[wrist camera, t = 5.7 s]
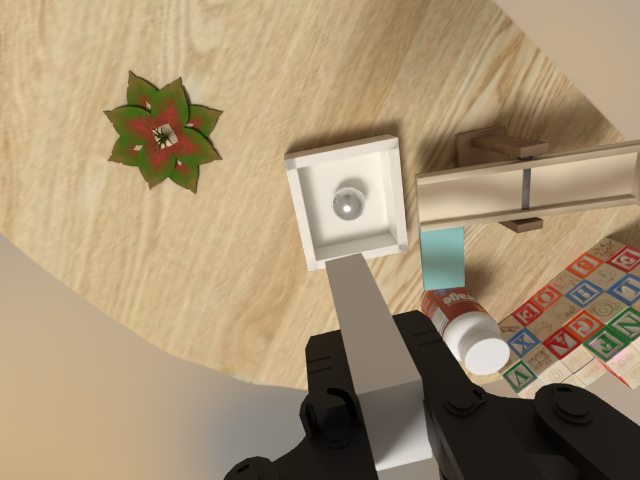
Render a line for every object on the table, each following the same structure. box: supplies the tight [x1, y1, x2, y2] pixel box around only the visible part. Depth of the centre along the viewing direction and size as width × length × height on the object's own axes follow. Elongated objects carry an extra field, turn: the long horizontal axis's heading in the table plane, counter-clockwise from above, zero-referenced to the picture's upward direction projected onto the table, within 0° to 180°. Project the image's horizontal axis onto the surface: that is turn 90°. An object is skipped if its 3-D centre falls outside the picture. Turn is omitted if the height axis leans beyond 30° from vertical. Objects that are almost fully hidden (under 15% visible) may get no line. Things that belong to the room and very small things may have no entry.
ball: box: [332, 187, 366, 221], centre depth 37 cm, size 4×4×4 cm
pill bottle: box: [421, 287, 510, 375], centre depth 40 cm, size 6×6×11 cm
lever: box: [415, 140, 640, 291], centre depth 32 cm, size 12×19×3 cm, turn 100°
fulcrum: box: [456, 126, 549, 233], centre depth 35 cm, size 9×5×9 cm, turn 10°
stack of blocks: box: [498, 237, 640, 399], centre depth 41 cm, size 21×6×12 cm, turn 136°
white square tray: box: [284, 134, 408, 271], centre depth 37 cm, size 12×11×4 cm
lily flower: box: [104, 71, 222, 194], centre depth 33 cm, size 12×12×5 cm
